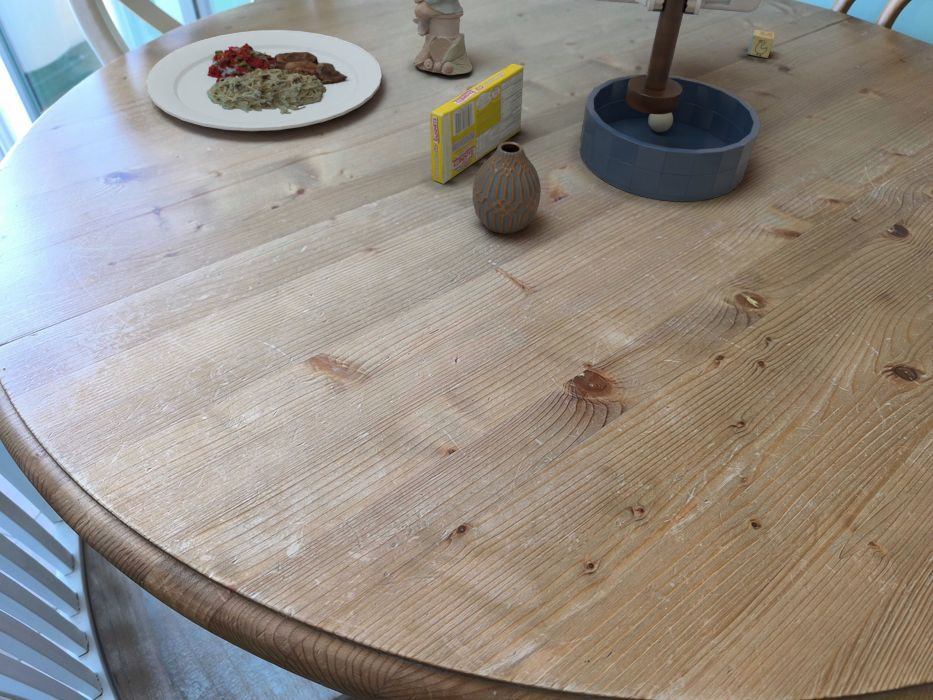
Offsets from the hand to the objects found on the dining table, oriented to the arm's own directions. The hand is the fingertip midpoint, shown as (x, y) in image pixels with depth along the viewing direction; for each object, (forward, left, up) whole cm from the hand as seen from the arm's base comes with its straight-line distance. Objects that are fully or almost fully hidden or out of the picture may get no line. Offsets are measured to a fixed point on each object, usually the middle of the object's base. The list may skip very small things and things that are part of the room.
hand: (674, 5), depth 78 cm
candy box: (+19, +2, -18) cm, 27 cm away
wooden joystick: (0, -1, -11) cm, 11 cm away
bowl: (-3, -1, -18) cm, 18 cm away
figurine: (+26, -22, -18) cm, 39 cm away
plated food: (+48, -11, -18) cm, 53 cm away
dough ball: (-3, -6, -16) cm, 17 cm away
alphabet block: (-21, -36, -18) cm, 45 cm away
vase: (+15, +16, -18) cm, 29 cm away
